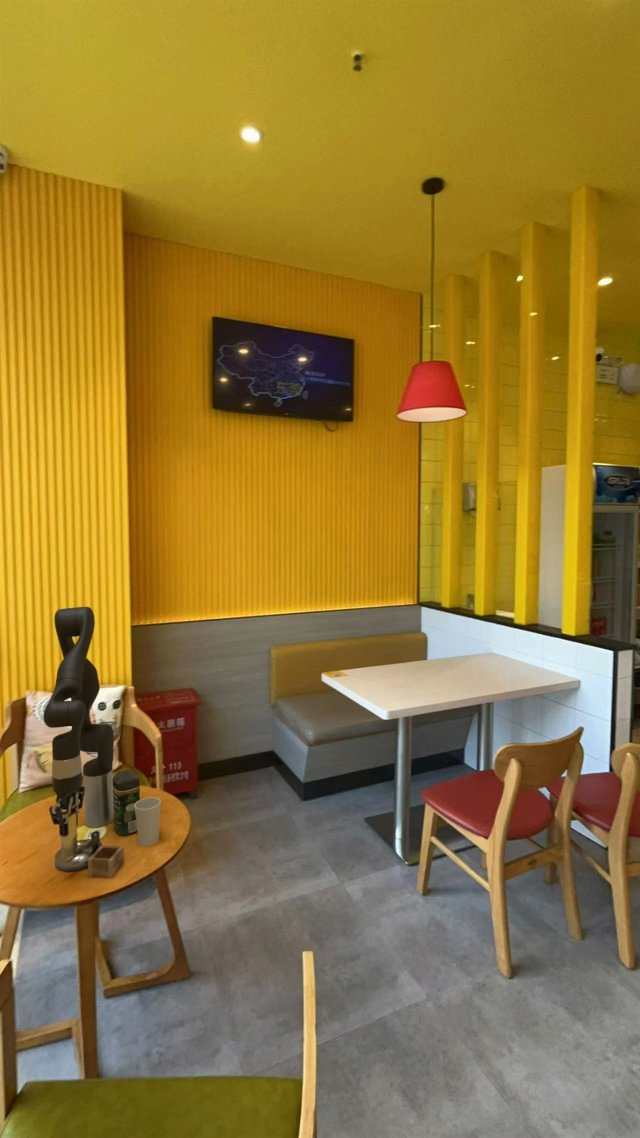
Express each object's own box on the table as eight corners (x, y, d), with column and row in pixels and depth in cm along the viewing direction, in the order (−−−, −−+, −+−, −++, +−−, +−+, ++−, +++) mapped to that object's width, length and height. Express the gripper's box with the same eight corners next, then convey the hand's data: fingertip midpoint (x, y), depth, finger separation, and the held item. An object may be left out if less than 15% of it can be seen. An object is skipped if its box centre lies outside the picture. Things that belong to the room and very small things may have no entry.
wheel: (45, 868, 154) (44, 841, 153) (73, 843, 167) (72, 818, 166) (86, 873, 151) (85, 845, 151) (112, 847, 164) (111, 822, 164)
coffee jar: (111, 826, 177) (109, 771, 176) (135, 818, 182) (133, 765, 181) (119, 839, 169) (117, 782, 169) (144, 831, 174) (142, 775, 173)
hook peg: (67, 848, 152) (65, 811, 152) (80, 849, 152) (79, 811, 151) (58, 856, 148) (57, 818, 148) (72, 857, 148) (71, 818, 147)
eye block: (101, 862, 157) (100, 845, 157) (124, 863, 156) (123, 846, 156) (88, 876, 150) (88, 859, 150) (112, 878, 149) (111, 860, 149)
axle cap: (77, 845, 161) (77, 839, 160) (86, 846, 160) (86, 839, 160) (71, 851, 158) (71, 845, 157) (81, 851, 157) (80, 845, 157)
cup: (131, 840, 169) (129, 803, 168) (154, 830, 174) (153, 794, 174) (142, 850, 163) (141, 812, 162) (166, 840, 169) (165, 803, 168)
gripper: (69, 761, 156) (71, 818, 157) (38, 782, 142) (40, 844, 143) (93, 761, 156) (94, 819, 156) (64, 783, 141) (66, 846, 142)
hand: (68, 831), depth 150 cm, fingers closed on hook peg, 4 cm apart
